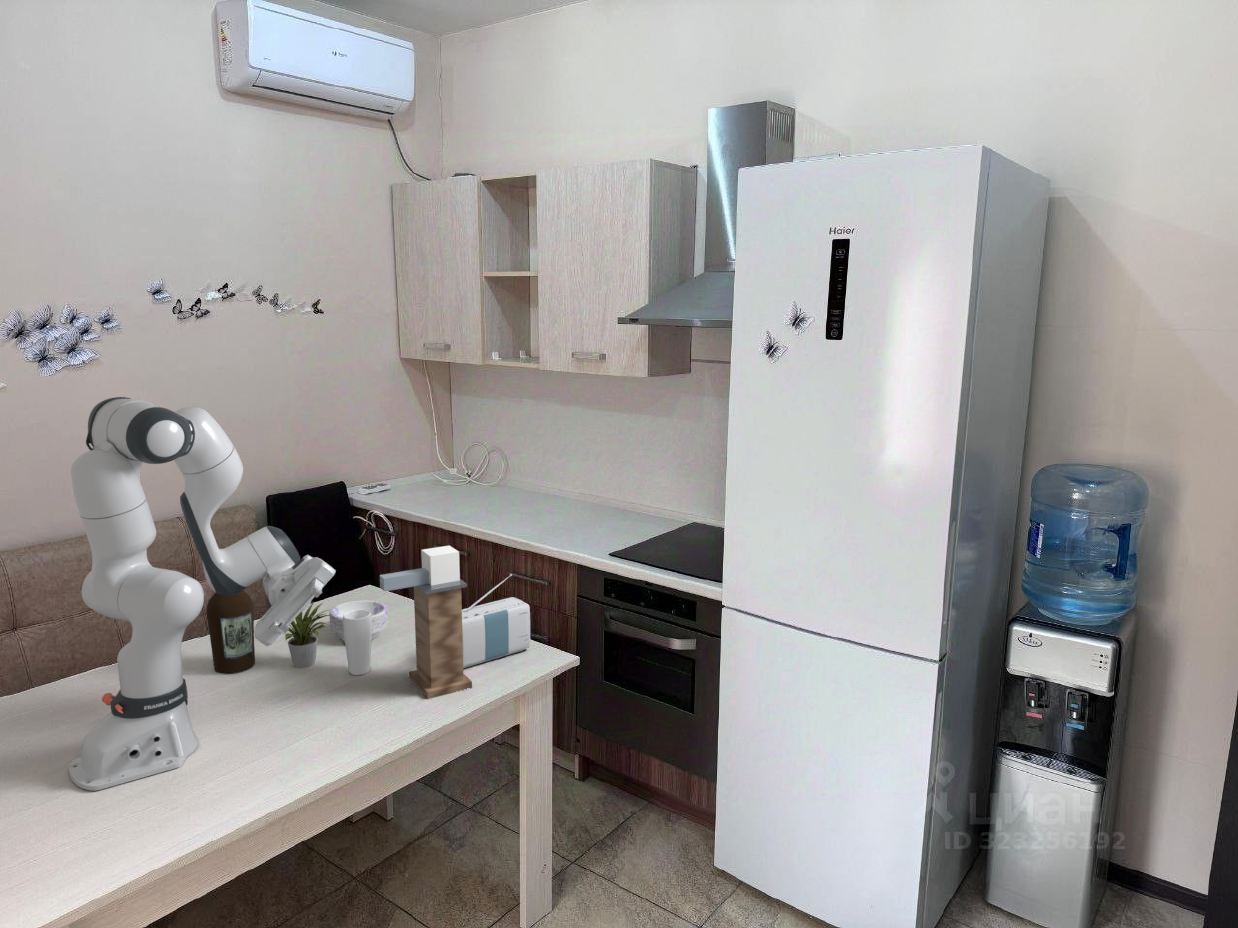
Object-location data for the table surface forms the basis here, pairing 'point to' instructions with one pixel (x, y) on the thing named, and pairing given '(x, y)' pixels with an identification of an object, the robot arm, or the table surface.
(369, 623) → the drinking glass
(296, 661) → the house plant
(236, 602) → the olive oil
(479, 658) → the stereo radio cassette player
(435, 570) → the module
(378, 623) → the paper bowls
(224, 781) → the table surface
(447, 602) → the stand
